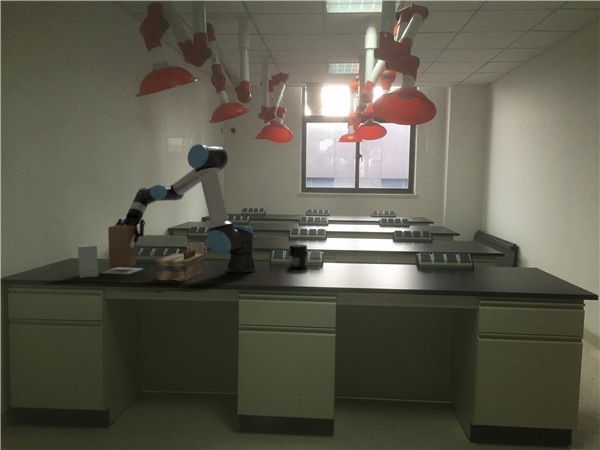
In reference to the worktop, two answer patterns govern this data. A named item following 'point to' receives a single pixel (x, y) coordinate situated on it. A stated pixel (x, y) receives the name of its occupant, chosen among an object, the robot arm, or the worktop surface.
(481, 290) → the worktop surface
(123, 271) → the mat
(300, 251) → the supplement container
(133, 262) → the wooden block
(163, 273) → the toolbox
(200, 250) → the character mug
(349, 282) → the worktop surface
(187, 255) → the lid
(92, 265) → the skincare box
